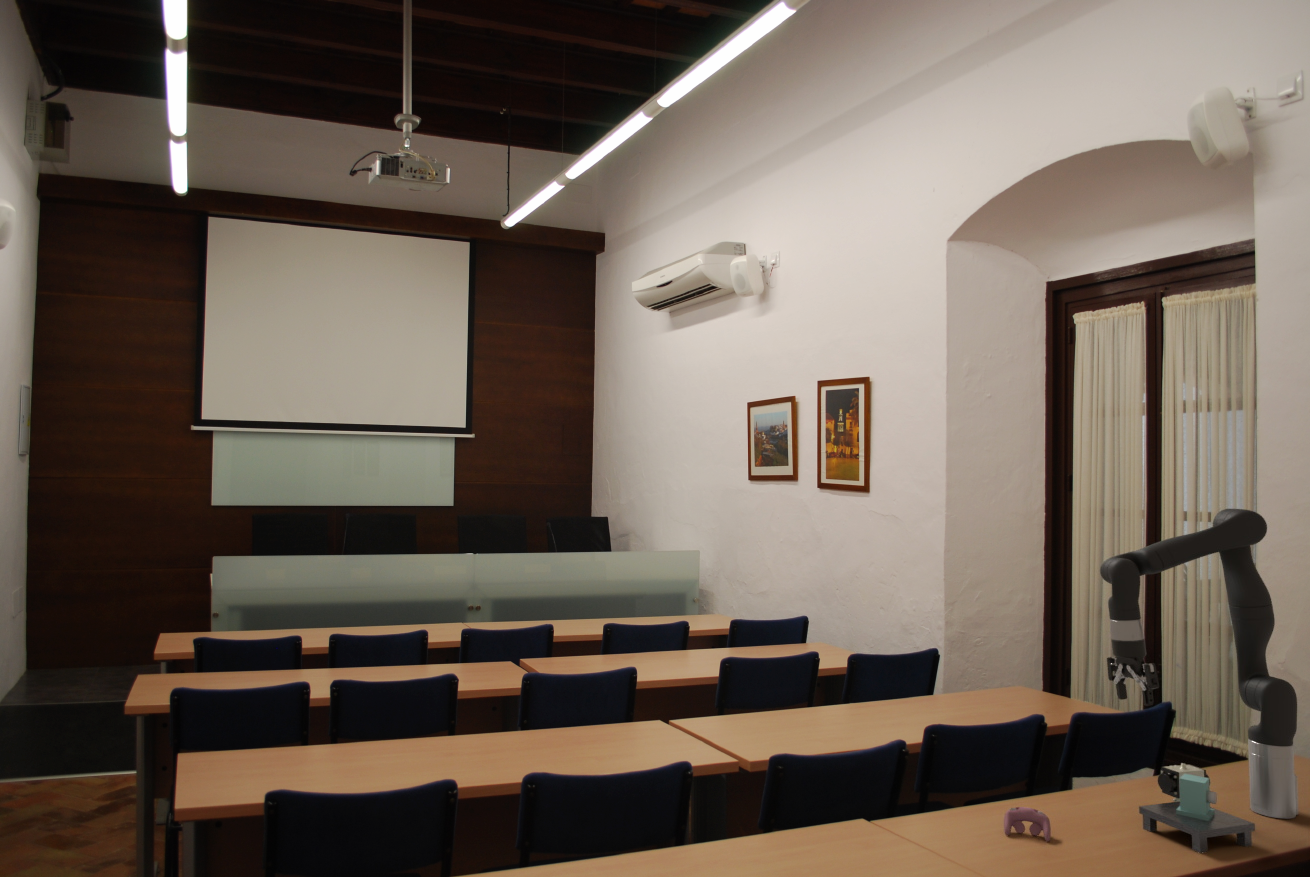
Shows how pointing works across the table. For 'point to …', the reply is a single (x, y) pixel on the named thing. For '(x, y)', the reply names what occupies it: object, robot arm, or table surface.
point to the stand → (1197, 824)
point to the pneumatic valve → (1177, 778)
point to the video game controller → (1031, 815)
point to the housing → (1196, 797)
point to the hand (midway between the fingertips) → (1135, 702)
